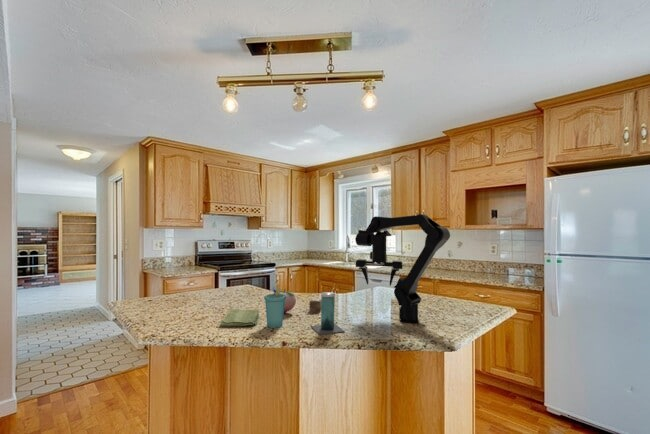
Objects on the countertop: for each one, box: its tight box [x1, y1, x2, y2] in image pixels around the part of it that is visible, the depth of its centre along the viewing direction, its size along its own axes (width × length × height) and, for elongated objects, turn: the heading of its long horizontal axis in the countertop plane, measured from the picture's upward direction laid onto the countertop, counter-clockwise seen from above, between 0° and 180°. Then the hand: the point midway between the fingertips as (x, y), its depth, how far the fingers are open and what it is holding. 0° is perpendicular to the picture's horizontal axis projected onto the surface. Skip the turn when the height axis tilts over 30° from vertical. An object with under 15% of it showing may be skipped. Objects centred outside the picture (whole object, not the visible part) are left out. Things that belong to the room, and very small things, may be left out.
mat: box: [311, 323, 345, 336], centre depth 112 cm, size 9×9×1 cm
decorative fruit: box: [280, 289, 297, 314], centre depth 134 cm, size 9×8×10 cm
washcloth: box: [219, 308, 260, 328], centre depth 123 cm, size 13×18×3 cm
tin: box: [320, 291, 336, 331], centre depth 112 cm, size 5×5×12 cm
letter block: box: [309, 298, 321, 313], centre depth 139 cm, size 4×4×5 cm
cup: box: [263, 283, 286, 329], centre depth 116 cm, size 14×8×15 cm, turn 7°
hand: (378, 284), depth 133 cm, fingers open, 9 cm apart
